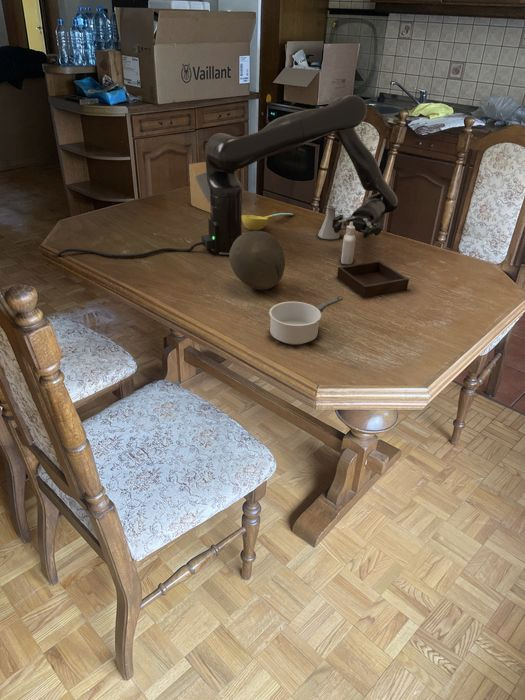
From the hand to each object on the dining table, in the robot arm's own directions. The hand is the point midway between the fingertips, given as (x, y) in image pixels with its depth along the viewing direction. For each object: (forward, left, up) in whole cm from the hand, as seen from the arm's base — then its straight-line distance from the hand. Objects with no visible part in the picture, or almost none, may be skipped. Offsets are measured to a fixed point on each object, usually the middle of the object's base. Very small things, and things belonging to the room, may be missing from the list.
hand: (350, 232), depth 154 cm
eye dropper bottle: (0, 0, -9) cm, 9 cm away
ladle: (-7, +39, -9) cm, 41 cm away
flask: (+6, +21, -9) cm, 24 cm away
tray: (-2, -16, -9) cm, 18 cm away
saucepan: (-30, -32, -9) cm, 45 cm away
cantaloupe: (-32, -7, -9) cm, 34 cm away
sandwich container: (-20, +63, -9) cm, 67 cm away
